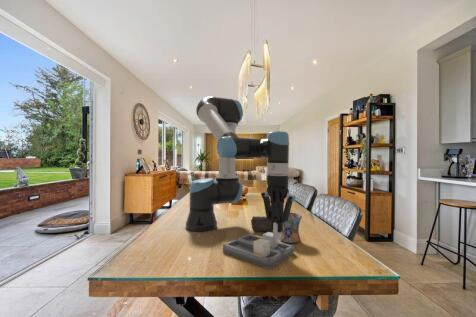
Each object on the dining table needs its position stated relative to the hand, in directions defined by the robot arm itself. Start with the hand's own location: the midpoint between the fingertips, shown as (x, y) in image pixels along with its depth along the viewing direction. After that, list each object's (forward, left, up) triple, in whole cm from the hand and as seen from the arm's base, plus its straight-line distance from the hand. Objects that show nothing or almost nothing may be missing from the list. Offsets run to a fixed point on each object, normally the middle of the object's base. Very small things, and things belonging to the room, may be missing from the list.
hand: (276, 240), depth 84 cm
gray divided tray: (-5, -4, -5) cm, 8 cm away
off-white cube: (-1, -8, -3) cm, 9 cm away
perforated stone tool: (-17, +19, -5) cm, 26 cm away
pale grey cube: (-3, 0, -3) cm, 4 cm away
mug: (-3, +16, -5) cm, 17 cm away
